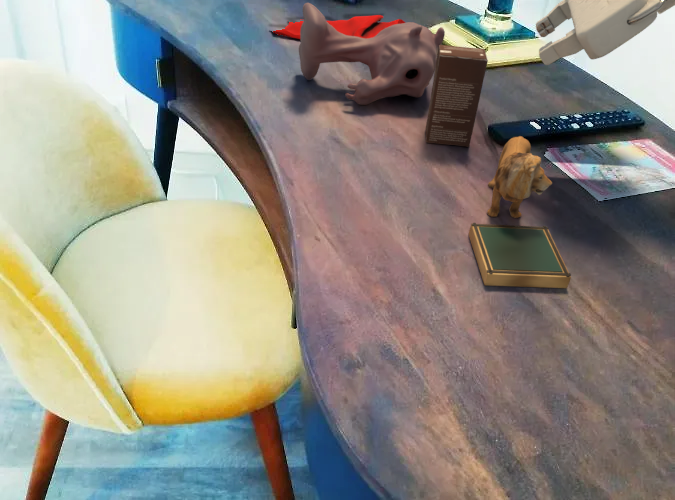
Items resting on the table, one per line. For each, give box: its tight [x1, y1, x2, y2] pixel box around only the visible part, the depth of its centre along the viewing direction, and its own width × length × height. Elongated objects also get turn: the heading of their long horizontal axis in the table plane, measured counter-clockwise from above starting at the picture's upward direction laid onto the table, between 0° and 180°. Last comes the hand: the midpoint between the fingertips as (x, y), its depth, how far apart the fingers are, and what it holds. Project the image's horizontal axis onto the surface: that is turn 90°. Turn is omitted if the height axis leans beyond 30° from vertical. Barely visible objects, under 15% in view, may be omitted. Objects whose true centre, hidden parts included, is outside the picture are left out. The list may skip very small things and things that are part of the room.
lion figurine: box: [486, 135, 553, 219], centre depth 73 cm, size 15×5×9 cm, turn 174°
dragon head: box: [298, 2, 446, 106], centre depth 94 cm, size 14×13×20 cm
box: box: [425, 44, 489, 148], centre depth 84 cm, size 6×4×12 cm
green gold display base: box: [468, 222, 572, 289], centre depth 67 cm, size 8×8×2 cm
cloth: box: [273, 14, 407, 40], centre depth 115 cm, size 26×14×2 cm, turn 100°
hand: (539, 44), depth 78 cm, fingers open, 8 cm apart
